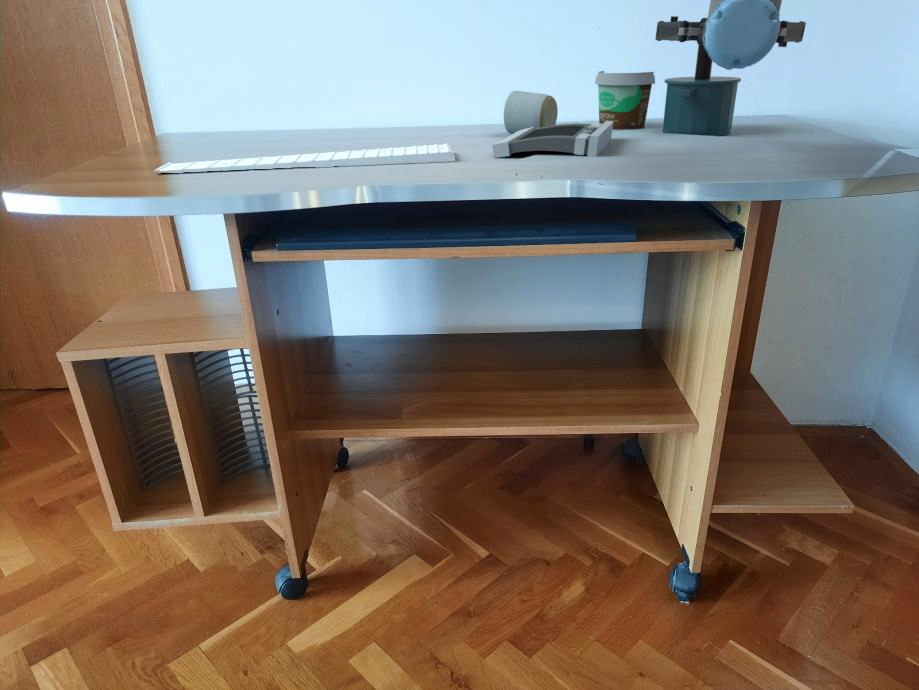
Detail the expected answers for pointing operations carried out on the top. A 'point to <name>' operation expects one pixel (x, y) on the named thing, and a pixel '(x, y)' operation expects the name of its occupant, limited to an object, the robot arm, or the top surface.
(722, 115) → the pot
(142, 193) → the top surface
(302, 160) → the keyboard
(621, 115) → the food container
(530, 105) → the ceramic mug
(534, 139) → the grey curved frame
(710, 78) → the lid
